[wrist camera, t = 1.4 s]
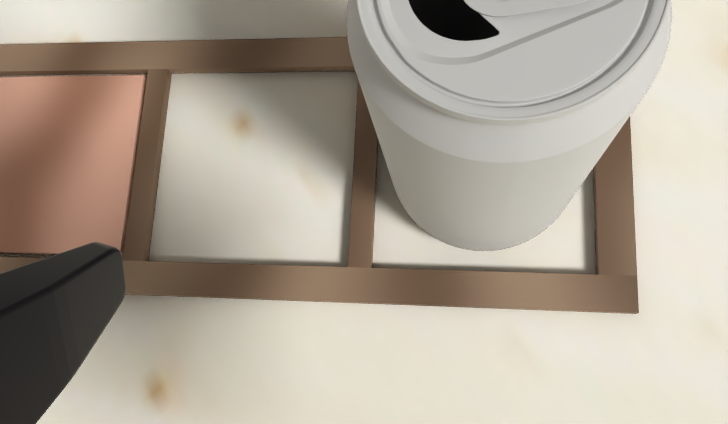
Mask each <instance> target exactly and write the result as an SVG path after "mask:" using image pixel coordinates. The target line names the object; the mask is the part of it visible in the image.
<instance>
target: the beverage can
mask: <svg viewBox="0 0 728 424" xmlns="http://www.w3.org/2000/svg"><path fill="white" fill-rule="evenodd" d="M671 22H672V7H671V0H348V6H347V23H346V26H347V38H348V45H349V50H350V55H351V58H352V62H353V65H354V68H355V71H356V74H357V77H358V80H359V83H360V86H361V89H362V92H363V95H364V98H365V101H366V104H367V107H368V110H369V113H370V116H371V119H372V122H373V125H374V128H375V131H376V134H377V137H378V140H379V143H380V146H381V149H382V152H383V155H384V158H385V161H386V164H387V167H388V170H389V173H390V176H391V179H392V182H393V185H394V188H395V191H396V193H397V196H398V198H399V200H400V202H401V204H402V206H403V207H404V209H405V210H406V212H407V213H408V214H409V216H410V217H411V218H412V219H413V220H414V221H415V223H416V224H417V225H419V226H420V227H421V228H422V229H423V230H424V231H426V232H427V233H428V234H430V235H431V236H433V237H435V238H436V239H438V240H440V241H442V242H444V243H447V244H449V245H452V246H455V247H458V248H462V249H468V250H474V251H494V250H501V249H506V248H510V247H513V246H516V245H519V244H522V243H524V242H526V241H528V240H530V239H532V238H534V237H535V236H537V235H539V234H540V233H541V232H543V231H544V230H545V229H547V228H548V227H549V226H550V225H551V224H552V223H553V222H554V221H555V220H556V219H557V218H558V217H559V215H560V214H561V213H562V211H563V210H564V209H565V207H566V206H567V204H568V203H569V202H570V200H571V199H572V197H573V196H574V194H575V193H576V192H577V190H578V189H579V187H580V186H581V185H582V183H583V182H584V180H585V179H586V177H587V176H588V175H589V173H590V172H591V170H592V169H593V168H594V166H595V165H596V163H597V162H598V160H599V159H600V158H601V156H602V155H603V153H604V152H605V151H606V149H607V148H608V146H609V145H610V143H611V142H612V141H613V139H614V138H615V136H616V135H617V133H618V132H619V131H620V129H621V128H622V126H623V125H624V124H625V122H626V121H627V119H628V118H629V116H630V115H631V114H632V112H633V111H634V109H635V108H636V107H637V105H638V104H639V102H640V101H641V99H642V98H643V97H644V95H645V94H646V92H647V91H648V89H649V88H650V86H651V84H652V83H653V81H654V79H655V77H656V75H657V73H658V71H659V69H660V67H661V65H662V62H663V59H664V57H665V54H666V50H667V47H668V43H669V38H670V31H671Z"/></svg>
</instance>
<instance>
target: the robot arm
mask: <svg viewBox="0 0 728 424" xmlns="http://www.w3.org/2000/svg"><path fill="white" fill-rule="evenodd" d="M125 291H126V283H125V274H124V266H123V258H122V253H121V252H120V250H119V249H117V248H116V247H113V246H110V245H106V244H103V243H100V242H92V243H89V244H86V245H83V246H80V247H77V248H74V249H71V250H68V251H65V252H62V253H59V254H56V255H53V256H50V257H47V258H44V259H42V260H39V261H36V262H33V263H30V264H27V265H24V266H21V267H18V268H15V269H12V270H9V271H6V272H3V273H0V424H36V423H37V421H38V420H39V419H40V418H41V416H42V415H43V414H44V413H45V412H46V410H47V409H48V408H49V407H50V405H51V404H52V403H53V402H54V400H55V399H56V398H57V397H58V395H59V394H60V393H61V392H62V390H63V389H64V388H65V387H66V385H67V384H68V383H69V381H70V380H71V379H72V377H73V376H74V374H75V373H76V372H77V370H78V369H79V367H80V366H81V364H82V363H83V361H84V360H85V358H86V357H87V355H88V354H89V352H90V350H91V349H92V347H93V346H94V344H95V343H96V341H97V340H98V338H99V337H100V335H101V334H102V332H103V330H104V329H105V327H106V326H107V324H108V323H109V321H110V320H111V318H112V317H113V315H114V314H115V312H116V310H117V309H118V307H119V306H120V304H121V303H122V301H123V298H124V296H125Z"/></svg>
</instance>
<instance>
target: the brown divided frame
mask: <svg viewBox="0 0 728 424" xmlns="http://www.w3.org/2000/svg"><path fill="white" fill-rule="evenodd" d="M296 71H355V68H354V65H353V62H352V58H351V55H350V50H349V45H348V38H347V37H322V38H277V39H232V40H187V41H142V42H97V43H52V44H7V45H0V76H21V75H90V74H147V78H146V77H145V76H144V75H112V76H42V77H0V253H16V254H50V255H56V254H59V253H62V252H65V251H68V250H71V249H74V248H77V247H80V246H83V245H86V244H89V243H92V242H100V243H103V244H106V245H110V246H113V247H116V248H117V249H119V250H120V252H121V253H122V257H123V266H124V274H125V283H126V291H125V294H130V295H156V296H183V297H209V298H235V299H262V300H288V301H314V302H341V303H367V304H393V305H420V306H446V307H472V308H499V309H525V310H551V311H578V312H604V313H630V314H636V313H639V310H638V287H637V265H636V242H635V220H634V197H633V175H632V152H631V130H630V116H629V118H628V119H627V121H626V122H625V124H624V125H623V126H622V128H621V129H620V131H619V132H618V133H617V135H616V136H615V138H614V139H613V141H612V142H611V143H610V145H609V146H608V148H607V149H606V151H605V152H604V153H603V155H602V156H601V158H600V159H599V160H598V162H597V163H596V165H595V166H594V168H593V185H594V218H595V251H596V275H595V274H561V273H528V272H494V271H461V270H427V269H394V268H372V259H373V238H374V217H375V195H376V174H377V153H378V137H377V134H376V131H375V128H374V125H373V122H372V119H371V116H370V113H369V110H368V107H367V104H366V101H365V98H364V95H363V92H362V89H361V86H360V83H359V80H358V93H357V111H356V129H355V147H354V165H353V183H352V201H351V219H350V237H349V255H348V267H327V266H294V265H260V264H227V263H193V262H160V261H148V258H149V250H150V242H151V234H152V226H153V218H154V210H155V202H156V194H157V186H158V178H159V170H160V162H161V154H162V146H163V138H164V130H165V122H166V114H167V106H168V98H169V90H170V82H171V74H172V73H227V72H296ZM42 259H44V258H26V257H0V273H3V272H6V271H9V270H12V269H15V268H18V267H21V266H24V265H27V264H30V263H33V262H36V261H39V260H42Z"/></svg>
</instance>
